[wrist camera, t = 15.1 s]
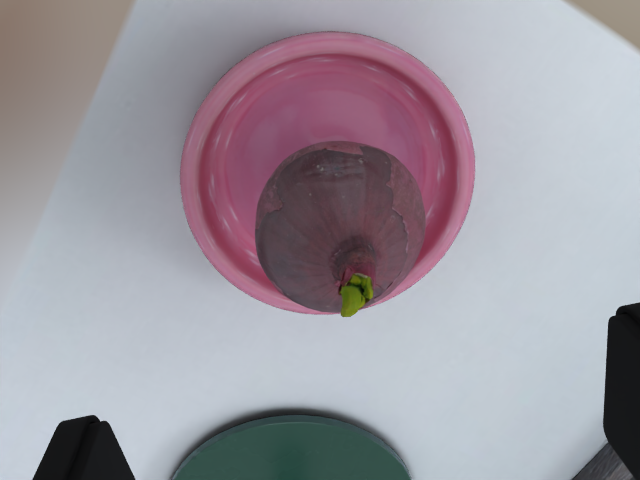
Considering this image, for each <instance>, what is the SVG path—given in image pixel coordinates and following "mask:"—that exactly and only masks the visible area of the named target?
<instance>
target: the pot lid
mask: <svg viewBox="0 0 640 480" xmlns="http://www.w3.org/2000/svg"><path fill="white" fill-rule="evenodd" d="M172 480H412V479H411V476H410V474H409V471H408V469H407V468H406V466H405V464H404V463H403V461H402V460H401V458H400V457H399V456H398V455H397V454H396V453H395V451H394V450H393V449H392V448H390V447H389V446H388V445H387V444H386V443H385V442H383V441H382V440H381V439H379V438H378V437H376V436H375V435H373V434H371V433H370V432H368V431H366V430H364V429H361V428H359V427H357V426H355V425H352V424H349V423H346V422H343V421H340V420H335V419H331V418H326V417H319V416H309V415H284V416H275V417H267V418H263V419H258V420H253V421H250V422H247V423H243V424H240V425H237V426H235V427H232V428H230V429H228V430H226V431H223V432H221V433H219V434H218V435H216V436H214V437H213V438H211V439H209V440H208V441H206V442H205V443H203V444H202V445H201V446H199V447H198V448H197V449H196V450H194V451H193V452H192V453H191V454H190V455H189V456H188V457H187V458H186V459H185V460H184V461H183V463H182V464H181V465H180V467H179V468H178V470H177V471H176V472H175V474H174V476H173V478H172Z"/></svg>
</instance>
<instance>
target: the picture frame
mask: <svg viewBox="0 0 640 480" xmlns="http://www.w3.org/2000/svg"><path fill="white" fill-rule="evenodd" d="M573 480H635V478H634V477H633V475H632V474H631V473H630V471H629V470H628V469H627V467H626V466H625V464H624V463H623V462H622V460H621V459H620V458H619V456H618V455H617V454H616V452H615V451H614V449H613V448H612V447H611V445H610V444H609V443H608V444H607V445H606V446H605V447H604V448H603V449H602V450H601V451H600V452H599V453H598V454H597V455H596V456H595V457H594V459H593V460H592V461H591V462H590V463H589V464H588V465H587V466H586V467H585V468H584V469H583V470H582V471H581V472H580V473H579V474H578V475H577V476H576V477H575V478H574V479H573Z"/></svg>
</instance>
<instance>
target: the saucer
mask: <svg viewBox="0 0 640 480" xmlns="http://www.w3.org/2000/svg"><path fill="white" fill-rule="evenodd" d="M327 141H349V142H356V143H362V144H366V145H370V146H373V147H377V148H379V149H381V150H383V151H385V152H387V153H389V154H391V155H393V156H395V157H396V158H397V159H398V160H399V161H400V162H401V163H402V164H403V165H404V166H405V167H406V168H407V169H408V170H409V172H410V173H411V174H412V176H413V177H414V178H415V180H416V182H417V184H418V187H419V189H420V192H421V196H422V200H423V204H424V210H425V217H426V228H425V236H424V241H423V245H422V247H421V250H420V253H419V256H418V258H417V260H416V262H415V264H414V266H413V268H412V269H411V271H410V272H409V274H408V275H407V277H406V278H405V279H404V280H403V281H402V282H401V283H400V284H399V285H398V286H397V287H396V288H395V289H394V290H393V291H392V292H391V293H390V294H389V295H387V296H386V297H384V298H383V299H381V300H379V301H377V302H376V303H373V304H371V305H370V306H367V307H365V308H368V307H371V306H374V305H376V304H379V303H382V302H384V301H386V300H389V299H391V298H393V297H395V296H396V295H398V294H400V293H402V292H403V291H405V290H406V289H408V288H409V287H411V286H412V285H414V284H415V283H416V282H417V281H419V280H420V279H421V278H422V277H424V276H425V275H426V274H427V273H428V272H429V271H430V270H431V269H432V268H433V267H434V266H435V265H436V264H437V263H438V262H439V261H440V259H441V258H442V257H443V256H444V255H445V253H446V252H447V250H448V249H449V247H450V246H451V244H452V243H453V241H454V239H455V238H456V236H457V234H458V233H459V231H460V229H461V227H462V225H463V222H464V220H465V217H466V215H467V212H468V209H469V206H470V202H471V198H472V193H473V188H474V179H475V156H474V148H473V142H472V138H471V134H470V131H469V127H468V124H467V122H466V119H465V117H464V114H463V112H462V110H461V108H460V106H459V105H458V103H457V101H456V100H455V98H454V96H453V95H452V93H451V92H450V91H449V89H448V88H447V87H446V85H445V84H444V83H443V82H442V81H441V80H440V78H439V77H438V76H437V75H436V74H435V73H434V72H433V71H431V70H430V69H429V68H428V67H427V66H426V65H424V64H423V63H422V62H421V61H419V60H418V59H416V58H415V57H413V56H412V55H410V54H409V53H407V52H405V51H403V50H402V49H400V48H398V47H396V46H394V45H392V44H389V43H387V42H384V41H382V40H379V39H376V38H373V37H370V36H365V35H361V34H356V33H348V32H335V31H327V32H313V33H305V34H300V35H296V36H292V37H288V38H284V39H282V40H279V41H276V42H274V43H271V44H269V45H267V46H265V47H262V48H261V49H259V50H257V51H255V52H253V53H252V54H250V55H249V56H247V57H245V58H244V59H243V60H241V61H240V62H239V63H237V64H236V65H235V66H234V67H232V68H231V69H230V70H229V71H228V72H227V73H226V74H225V75H224V76H223V77H222V78H221V79H220V80H219V81H218V82H217V83H216V85H215V86H214V87H213V88H212V90H211V91H210V92H209V94H208V95H207V96H206V98H205V99H204V101H203V102H202V104H201V105H200V107H199V109H198V111H197V112H196V114H195V116H194V119H193V121H192V123H191V125H190V128H189V131H188V133H187V136H186V139H185V143H184V148H183V153H182V159H181V169H180V185H181V195H182V202H183V207H184V211H185V214H186V218H187V221H188V224H189V227H190V229H191V231H192V233H193V235H194V238H195V240H196V242H197V243H198V245H199V247H200V249H201V250H202V252H203V253H204V255H205V256H206V257H207V259H208V260H209V261H210V263H211V264H212V265H213V266H214V267H215V269H216V270H217V271H218V272H219V273H220V274H221V275H222V276H224V277H225V278H226V279H227V280H228V281H229V282H230V283H232V284H233V285H234V286H236V287H237V288H239V289H240V290H241V291H243V292H245V293H246V294H248V295H250V296H251V297H253V298H255V299H257V300H259V301H262V302H264V303H266V304H269V305H271V306H274V307H277V308H280V309H284V310H288V311H293V312H298V313H305V314H339V313H341V312H339V313H330V312H320V311H316V310H313V309H309V308H307V307H304V306H302V305H299V304H297V303H295V302H293V301H292V300H290V299H288V298H287V297H285V296H284V295H282V294H281V293H280V292H279V291H278V290H277V289H276V288H275V287H274V286H273V284H272V283H271V282H270V280H269V279H268V277H267V276H266V274H265V272H264V270H263V269H262V267H261V264H260V262H259V259H258V256H257V251H256V244H255V222H256V212H257V204H258V201H259V198H260V195H261V193H262V191H263V189H264V187H265V184H266V182H267V181H268V179H269V178H270V177H271V175H272V174H273V172H274V171H275V170H276V168H277V167H278V166H279V165H280V164H281V163H282V161H283V160H285V159H286V158H287V157H288V156H290V155H291V154H293V153H295V152H296V151H298V150H300V149H302V148H305V147H307V146H310V145H313V144H316V143H320V142H327ZM362 309H364V308H362ZM359 310H361V309H359Z"/></svg>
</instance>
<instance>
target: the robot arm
mask: <svg viewBox="0 0 640 480" xmlns="http://www.w3.org/2000/svg"><path fill="white" fill-rule="evenodd" d="M603 427H604V432H605V435H606V438H607V440H608V442H609V444H610V445H611V447H612V448H613V449H614V451H615V452H616V454H617V455H618V456H619V458H620V459H621V460H622V462H623V463H624V464H625V466H626V467H627V469H628V470H629V471H630V473H631V474H632V475H633V477H634V478H635V480H640V303H635V304H630V305H625V306H621V307H619V308H618V309H617V311H616V316H612V317H610V319H609V322H608V338H607V358H606V378H605V398H604V418H603ZM33 480H135V478H134V475H133V473H132V471H131V469H130V467H129V465H128V463H127V461H126V458H125V456H124V454H123V452H122V450H121V448H120V446H119V443H118V441H117V439H116V437H115V435H114V433H113V431H112V428H111V426H110V425H109V423H108V422H107V421H101V422H100V420H99V419H98V418H97V417H96V416H95V415H90V416H85V417H80V418H75V419H71V420H66V421H62V422H61V423H59V425H58V426H57V428H56V430H55V432H54V434H53V437H52V439H51V441H50V443H49V445H48V447H47V450H46V452H45V454H44V456H43V458H42V460H41V462H40V465H39V467H38V469H37V471H36V473H35V475H34V478H33Z"/></svg>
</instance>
